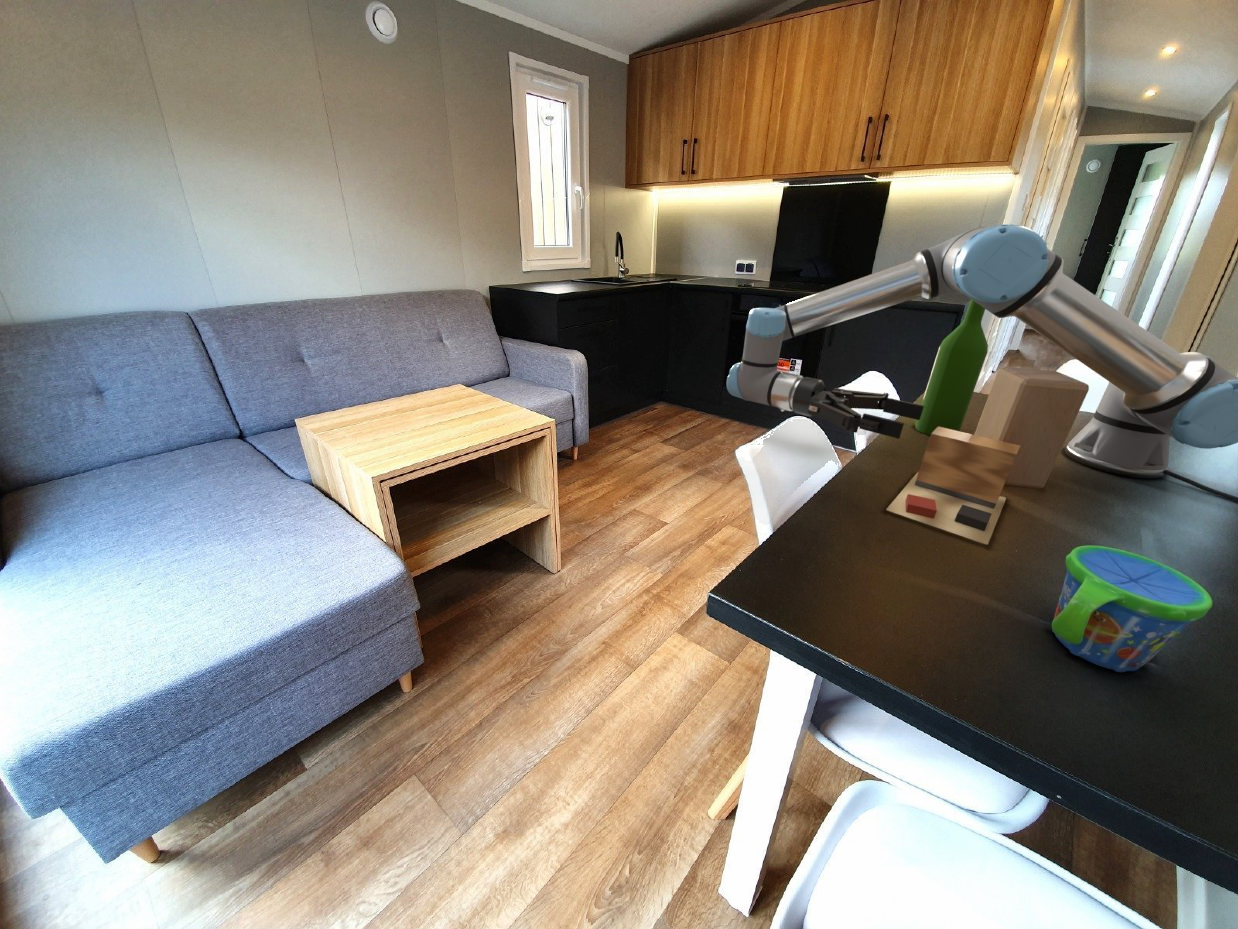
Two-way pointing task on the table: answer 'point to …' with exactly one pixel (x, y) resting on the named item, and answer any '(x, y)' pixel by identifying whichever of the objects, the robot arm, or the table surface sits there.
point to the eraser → (966, 466)
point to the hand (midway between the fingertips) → (912, 421)
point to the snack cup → (1123, 607)
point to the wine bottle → (954, 374)
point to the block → (1031, 419)
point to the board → (947, 512)
